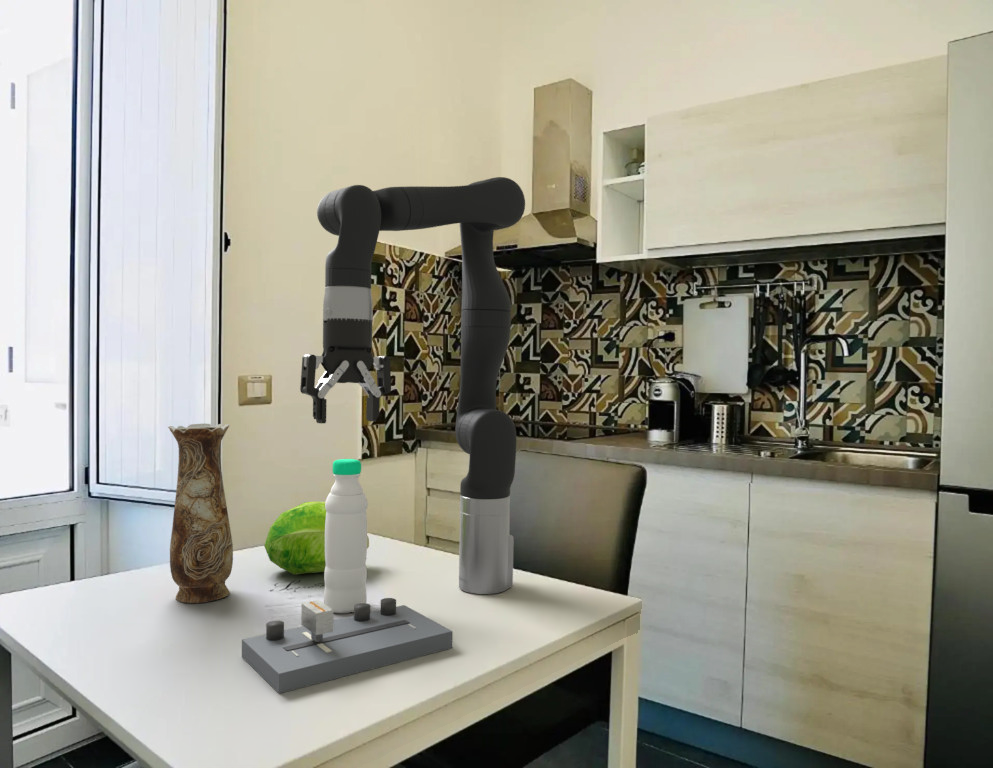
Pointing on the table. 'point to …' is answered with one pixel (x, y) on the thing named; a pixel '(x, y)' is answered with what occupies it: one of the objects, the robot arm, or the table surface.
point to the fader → (317, 619)
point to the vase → (200, 517)
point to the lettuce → (299, 539)
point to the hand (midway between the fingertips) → (346, 422)
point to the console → (343, 646)
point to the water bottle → (345, 539)
